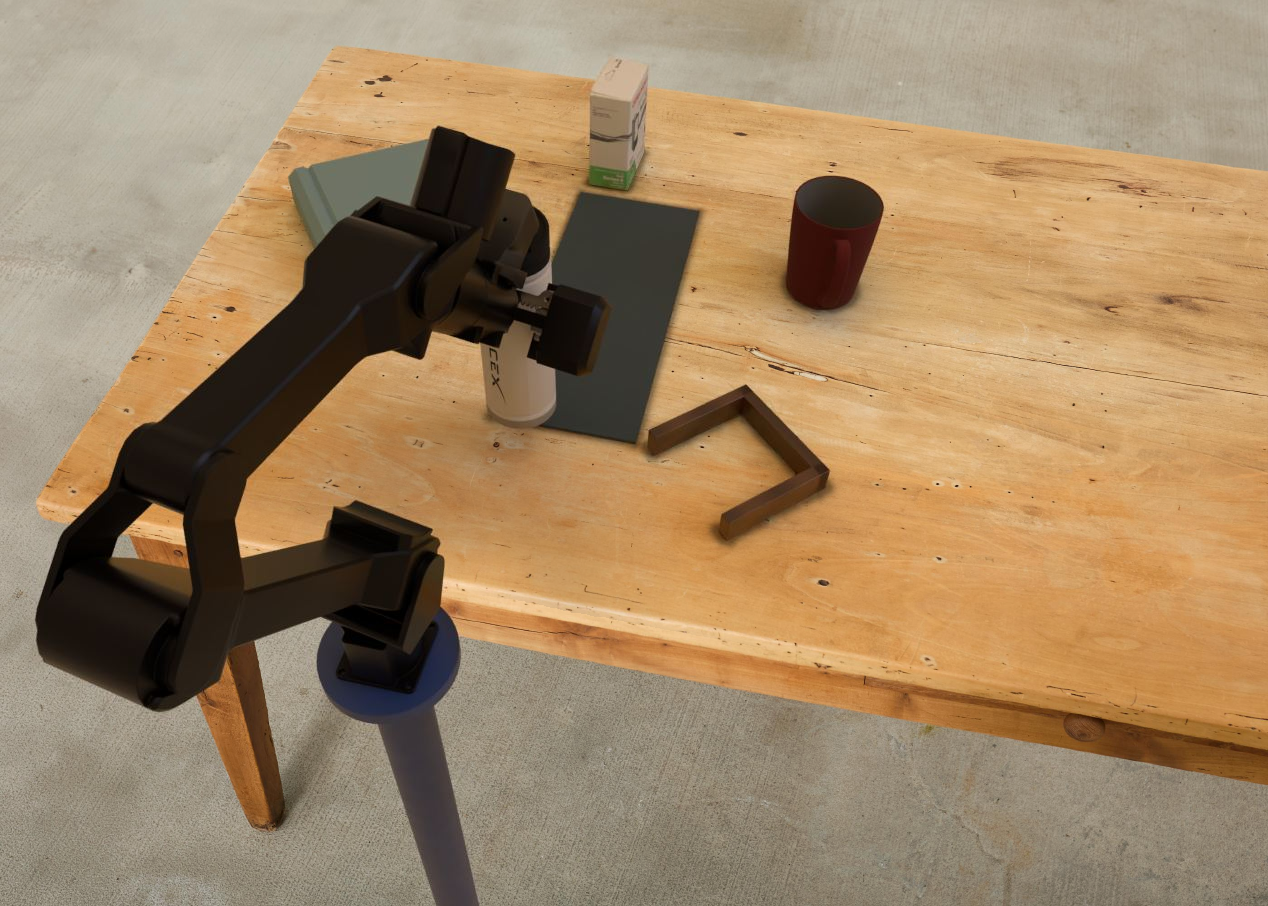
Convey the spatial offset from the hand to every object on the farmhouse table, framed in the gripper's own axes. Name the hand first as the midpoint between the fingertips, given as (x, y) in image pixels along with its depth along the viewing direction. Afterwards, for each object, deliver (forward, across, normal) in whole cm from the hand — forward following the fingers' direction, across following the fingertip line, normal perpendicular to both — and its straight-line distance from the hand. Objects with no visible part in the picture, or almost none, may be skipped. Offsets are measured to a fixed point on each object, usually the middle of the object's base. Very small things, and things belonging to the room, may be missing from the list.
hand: (523, 315), depth 89 cm
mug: (+30, -21, -11) cm, 38 cm away
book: (+21, +24, -2) cm, 32 cm away
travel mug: (+6, 0, +8) cm, 10 cm away
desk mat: (+22, 0, -3) cm, 22 cm away
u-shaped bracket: (+11, -19, +8) cm, 24 cm away
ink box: (+38, +8, -20) cm, 44 cm away
